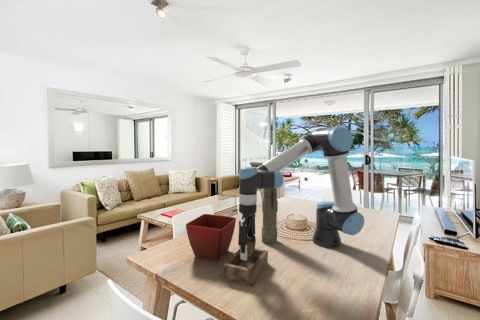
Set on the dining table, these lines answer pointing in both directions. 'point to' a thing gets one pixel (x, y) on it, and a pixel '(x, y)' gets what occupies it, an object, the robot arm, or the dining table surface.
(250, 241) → the olive textured bell shape
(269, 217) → the thermos
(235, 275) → the walnut box
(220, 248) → the plant pot
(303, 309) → the dining table surface
